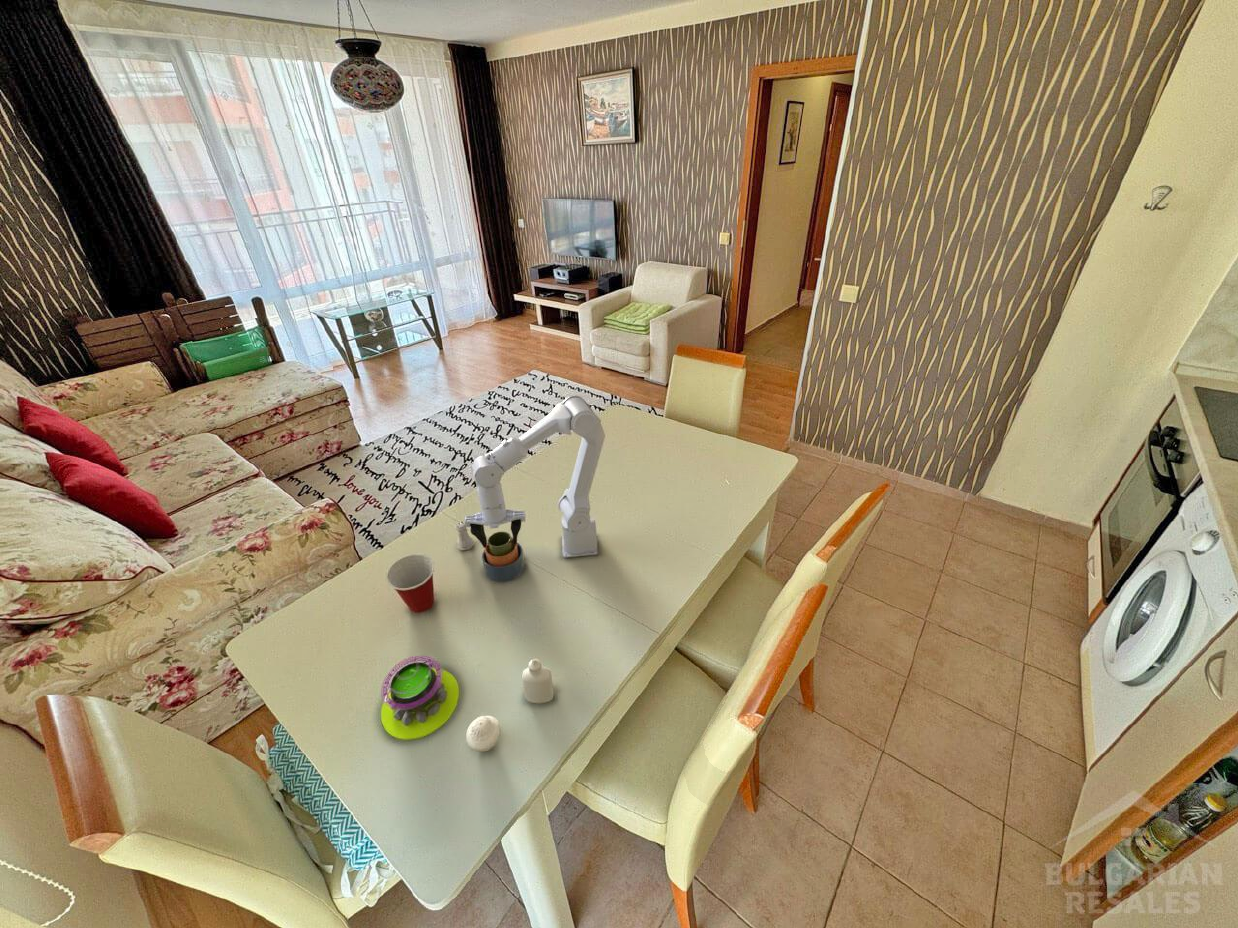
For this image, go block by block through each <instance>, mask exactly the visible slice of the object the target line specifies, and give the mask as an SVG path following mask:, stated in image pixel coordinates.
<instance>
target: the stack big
mask: <svg viewBox="0 0 1238 928" xmlns="http://www.w3.org/2000/svg"><path fill="white" fill-rule="evenodd" d="M517 545H518V551H519V558H518V559H517V560H516V561H515V562H513V563H511V564H509V565H506V566H501V567H495V566H491V565H489V564H488V562H487V558H486V554H485V549H484V550H483V552H482V553H481V559H482V564H483V568H484V572H485V575H486V577H487V578H489V580H491V581H494V582H499V583H500V582H509V581H512V580H513V579H516V578H517V577H519V576H520V575H521V574H522V573H523V571H524V569H525V566H526V563H525V557H524V550H523V546H522V545H521V544H520V543H519V542H517Z"/></svg>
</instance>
